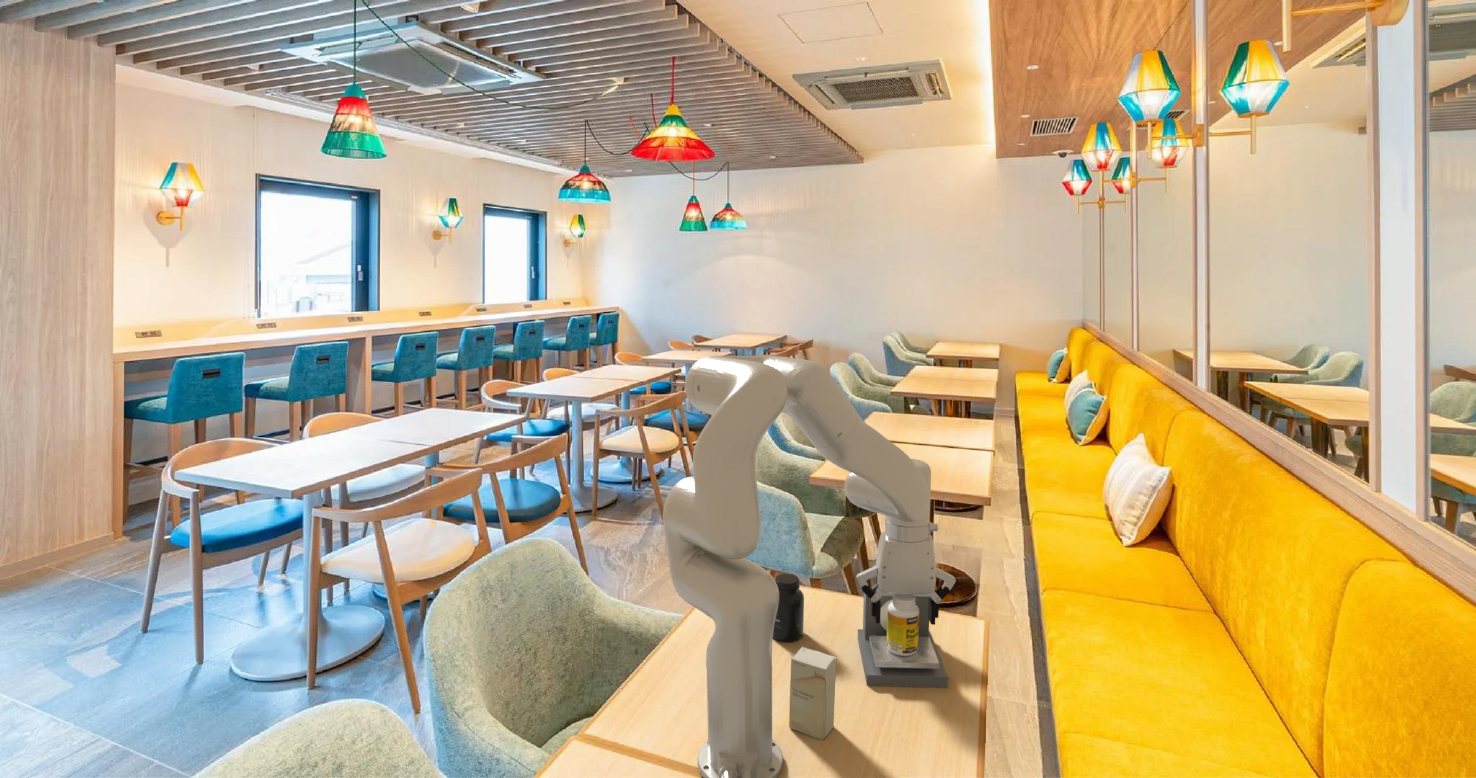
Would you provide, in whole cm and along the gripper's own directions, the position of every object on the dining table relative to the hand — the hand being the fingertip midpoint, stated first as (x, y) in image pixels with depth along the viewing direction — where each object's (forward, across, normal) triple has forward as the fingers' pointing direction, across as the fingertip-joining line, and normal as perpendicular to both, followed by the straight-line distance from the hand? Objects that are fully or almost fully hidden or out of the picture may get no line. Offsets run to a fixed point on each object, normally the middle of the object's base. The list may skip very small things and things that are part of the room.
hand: (904, 620), depth 128 cm
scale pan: (+8, 0, 0) cm, 8 cm away
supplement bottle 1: (+10, +21, -12) cm, 26 cm away
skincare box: (+10, +17, +17) cm, 26 cm away
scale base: (+10, 0, -3) cm, 10 cm away
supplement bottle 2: (+6, 0, 0) cm, 6 cm away
